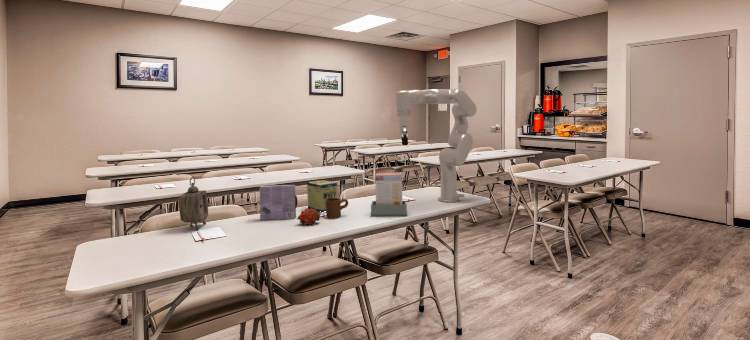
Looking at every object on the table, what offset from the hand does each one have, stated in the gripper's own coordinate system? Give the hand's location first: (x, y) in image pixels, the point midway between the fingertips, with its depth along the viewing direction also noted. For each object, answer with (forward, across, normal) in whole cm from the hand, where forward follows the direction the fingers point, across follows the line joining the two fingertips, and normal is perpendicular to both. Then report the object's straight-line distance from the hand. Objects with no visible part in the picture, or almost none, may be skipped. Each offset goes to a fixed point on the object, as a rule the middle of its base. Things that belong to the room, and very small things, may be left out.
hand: (404, 144), depth 242 cm
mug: (+35, +21, -37) cm, 55 cm away
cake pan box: (+34, +24, -68) cm, 79 cm away
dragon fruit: (+34, +36, -50) cm, 70 cm away
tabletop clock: (+32, +40, -105) cm, 117 cm away
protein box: (+35, +4, -48) cm, 59 cm away
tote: (+35, +17, -10) cm, 40 cm away
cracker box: (+34, +17, -10) cm, 40 cm away
